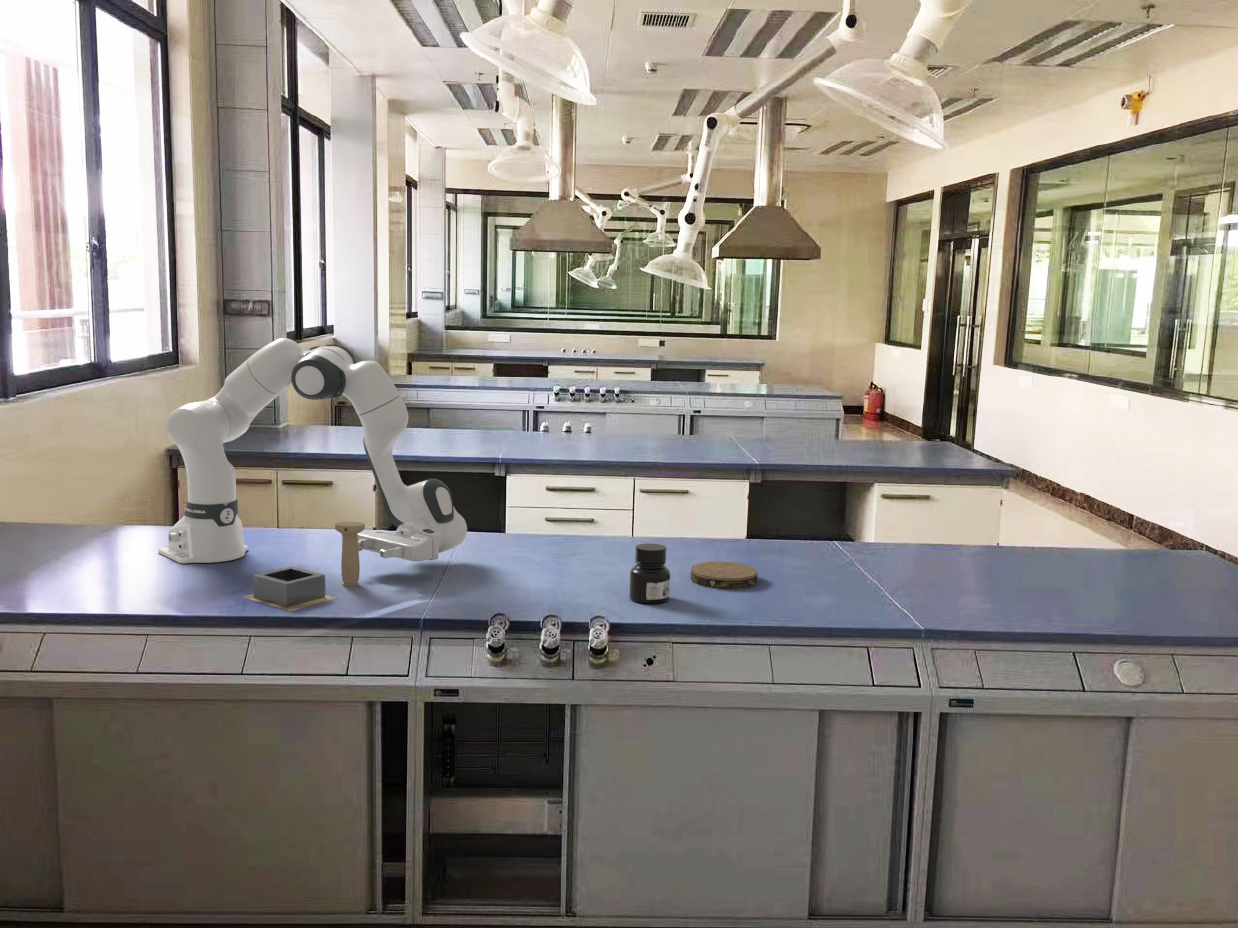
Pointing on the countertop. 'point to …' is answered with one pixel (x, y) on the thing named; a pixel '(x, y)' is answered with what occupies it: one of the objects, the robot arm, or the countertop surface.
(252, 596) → the base board
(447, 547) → the robot arm
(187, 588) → the countertop surface
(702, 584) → the brown round disc
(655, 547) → the ink bottle
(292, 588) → the square frame
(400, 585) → the countertop surface
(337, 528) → the handle
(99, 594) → the countertop surface
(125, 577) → the countertop surface
